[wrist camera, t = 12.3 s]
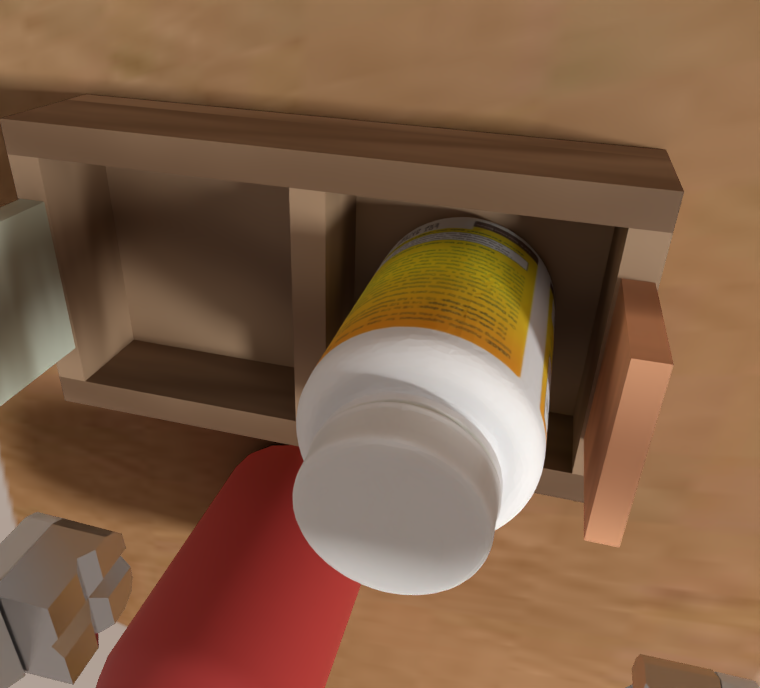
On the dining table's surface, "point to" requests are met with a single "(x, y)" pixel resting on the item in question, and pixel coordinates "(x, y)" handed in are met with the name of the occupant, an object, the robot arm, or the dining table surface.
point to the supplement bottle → (429, 410)
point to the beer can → (240, 596)
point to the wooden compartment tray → (318, 265)
